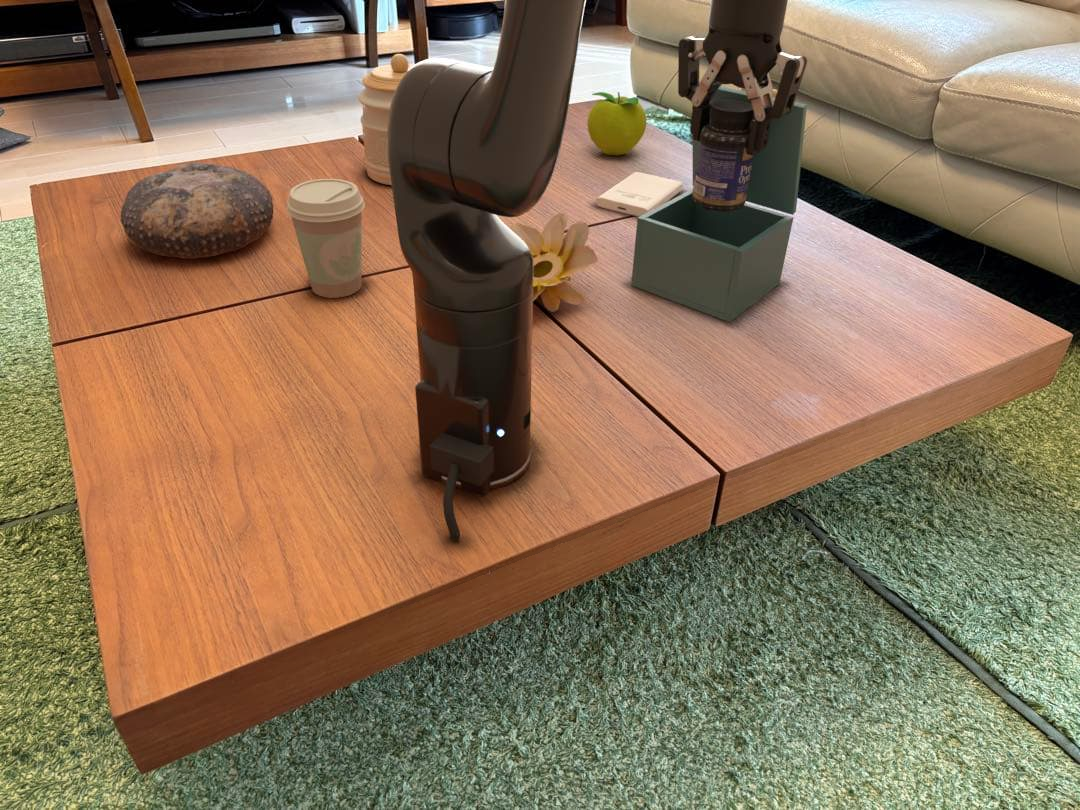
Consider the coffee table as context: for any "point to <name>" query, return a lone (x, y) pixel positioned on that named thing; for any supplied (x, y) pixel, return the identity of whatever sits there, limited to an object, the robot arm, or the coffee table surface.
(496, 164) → the robot arm
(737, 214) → the chest
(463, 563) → the coffee table surface
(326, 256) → the coffee cup
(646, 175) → the hard drive
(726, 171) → the pill bottle
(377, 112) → the jar
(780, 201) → the lid
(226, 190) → the sea urchin shell
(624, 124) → the fruit
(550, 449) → the coffee table surface
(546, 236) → the decorative flower
